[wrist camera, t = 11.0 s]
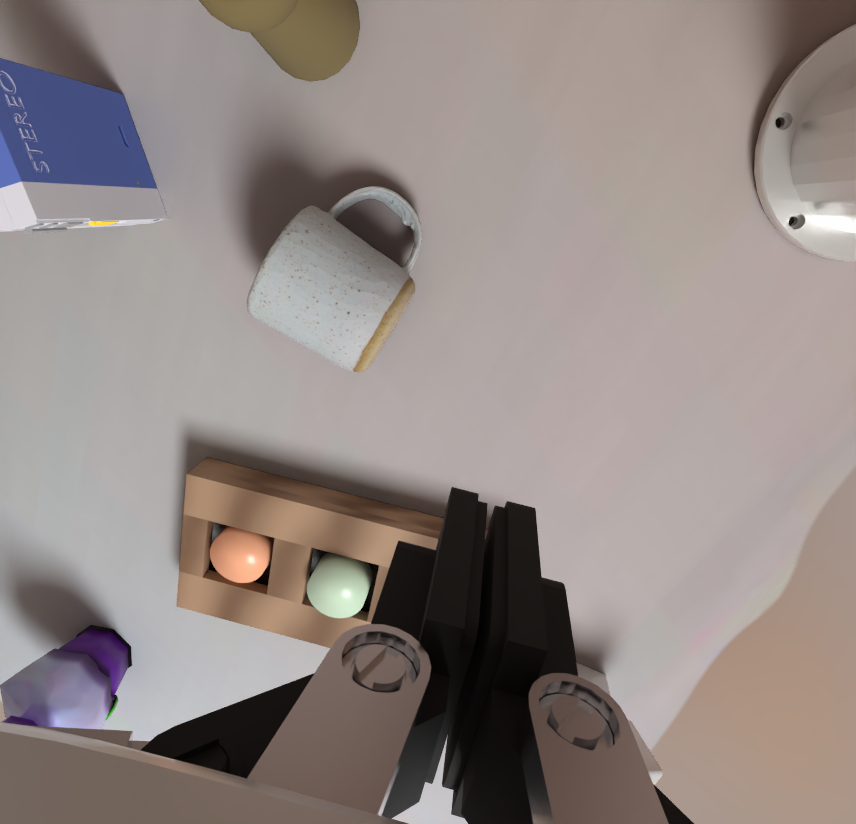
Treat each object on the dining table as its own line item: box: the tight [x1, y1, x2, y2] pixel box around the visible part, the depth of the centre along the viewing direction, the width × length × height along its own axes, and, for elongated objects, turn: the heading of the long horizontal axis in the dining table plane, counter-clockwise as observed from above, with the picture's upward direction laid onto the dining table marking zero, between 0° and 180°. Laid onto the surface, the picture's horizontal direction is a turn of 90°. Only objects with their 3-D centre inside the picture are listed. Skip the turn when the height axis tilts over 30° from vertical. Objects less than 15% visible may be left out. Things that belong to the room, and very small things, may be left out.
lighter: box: [576, 663, 663, 785], centre depth 44 cm, size 7×2×8 cm, turn 68°
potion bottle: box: [0, 625, 132, 729], centre depth 48 cm, size 9×9×12 cm
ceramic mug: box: [247, 186, 422, 372], centre depth 36 cm, size 11×8×8 cm
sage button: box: [307, 552, 372, 618], centre depth 44 cm, size 4×4×2 cm
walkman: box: [0, 58, 168, 234], centre depth 33 cm, size 8×3×12 cm, turn 14°
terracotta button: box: [210, 526, 275, 583], centre depth 45 cm, size 4×4×2 cm
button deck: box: [177, 457, 488, 648], centre depth 45 cm, size 25×12×3 cm, turn 78°
